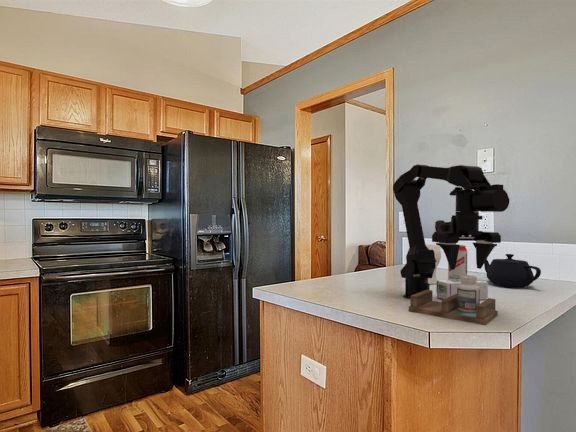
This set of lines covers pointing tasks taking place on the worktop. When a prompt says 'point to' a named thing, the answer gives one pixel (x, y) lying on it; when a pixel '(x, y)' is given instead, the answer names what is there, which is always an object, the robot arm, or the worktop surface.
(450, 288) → the syrup box
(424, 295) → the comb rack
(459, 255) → the beer can
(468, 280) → the pill bottle
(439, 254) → the cup
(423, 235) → the robot arm
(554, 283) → the worktop surface
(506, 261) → the teapot
